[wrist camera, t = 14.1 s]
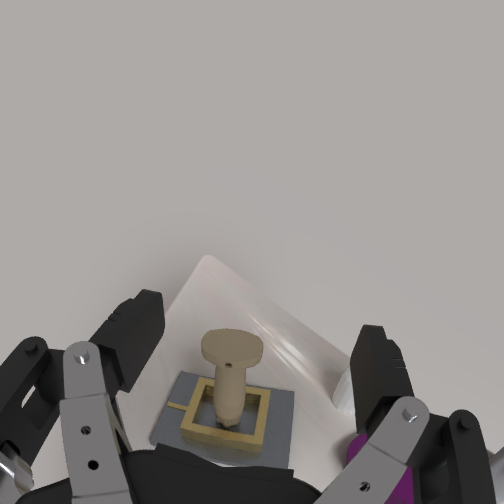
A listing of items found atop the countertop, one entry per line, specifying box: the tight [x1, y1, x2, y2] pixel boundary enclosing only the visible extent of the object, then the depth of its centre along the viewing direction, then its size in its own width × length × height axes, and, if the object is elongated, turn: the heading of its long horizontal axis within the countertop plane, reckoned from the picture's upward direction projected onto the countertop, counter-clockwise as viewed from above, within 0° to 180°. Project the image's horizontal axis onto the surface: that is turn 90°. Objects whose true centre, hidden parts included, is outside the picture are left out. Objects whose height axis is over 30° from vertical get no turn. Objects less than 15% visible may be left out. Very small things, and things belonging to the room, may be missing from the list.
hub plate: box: [150, 371, 295, 469], centre depth 36 cm, size 18×14×4 cm
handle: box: [201, 329, 263, 428], centre depth 33 cm, size 5×6×15 cm
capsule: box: [332, 366, 355, 414], centre depth 39 cm, size 5×5×8 cm
